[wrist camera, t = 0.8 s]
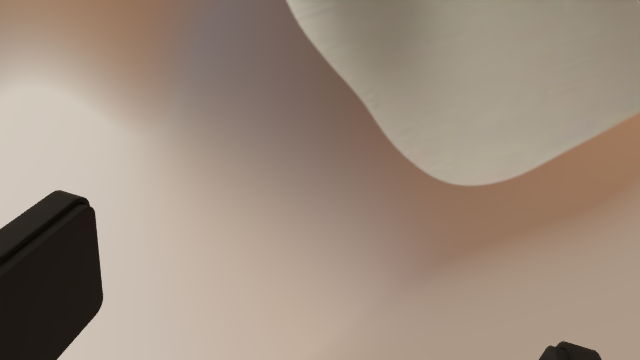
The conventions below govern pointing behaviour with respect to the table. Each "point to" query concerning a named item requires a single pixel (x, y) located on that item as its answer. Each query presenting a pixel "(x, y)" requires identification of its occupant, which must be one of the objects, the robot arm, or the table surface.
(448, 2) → the table surface
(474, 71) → the table surface
